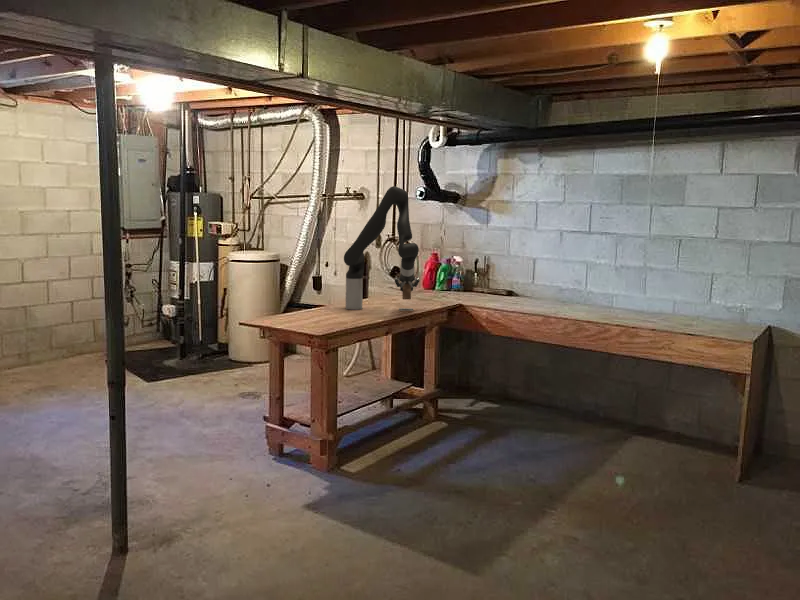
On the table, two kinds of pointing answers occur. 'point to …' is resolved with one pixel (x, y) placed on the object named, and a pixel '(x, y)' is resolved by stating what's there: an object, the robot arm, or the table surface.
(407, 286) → the block
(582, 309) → the table surface
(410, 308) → the mat
